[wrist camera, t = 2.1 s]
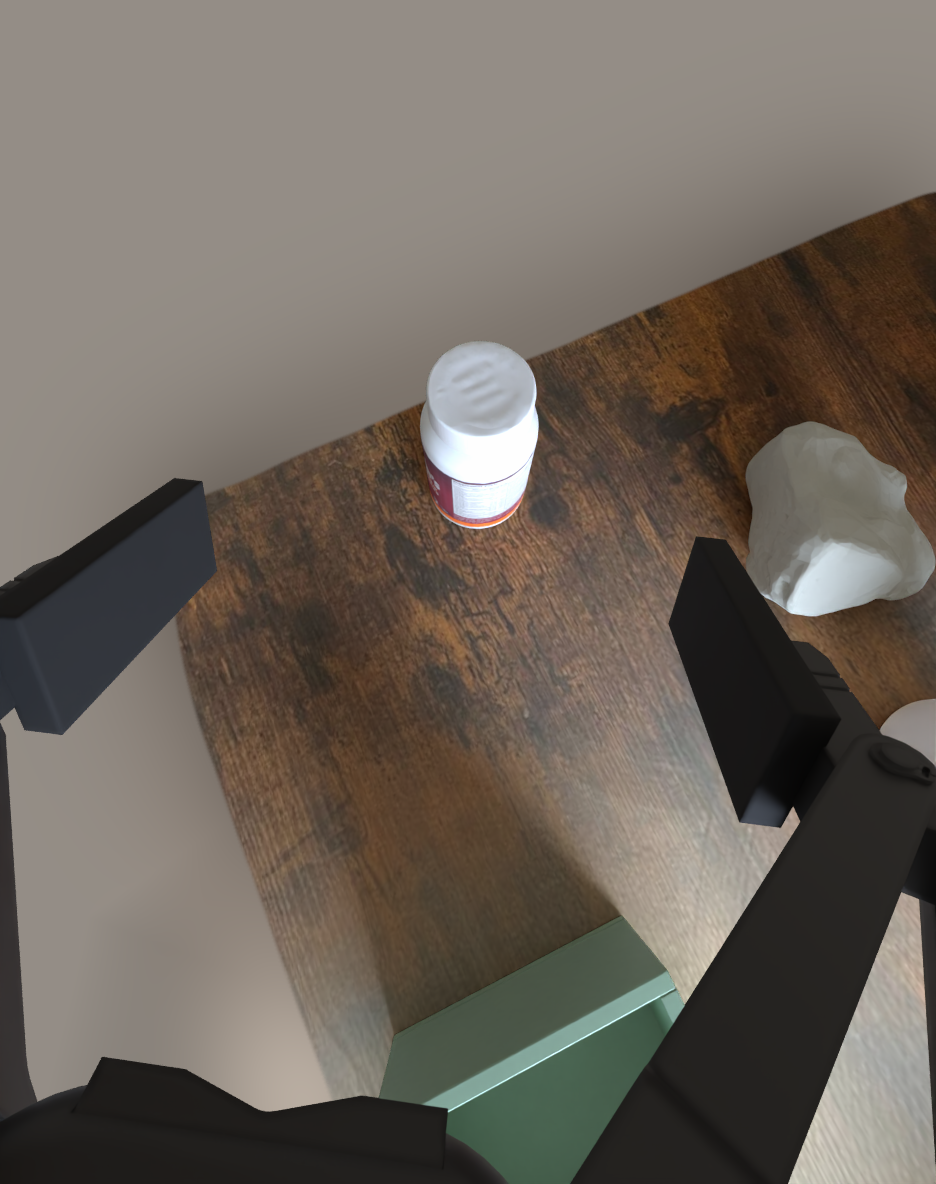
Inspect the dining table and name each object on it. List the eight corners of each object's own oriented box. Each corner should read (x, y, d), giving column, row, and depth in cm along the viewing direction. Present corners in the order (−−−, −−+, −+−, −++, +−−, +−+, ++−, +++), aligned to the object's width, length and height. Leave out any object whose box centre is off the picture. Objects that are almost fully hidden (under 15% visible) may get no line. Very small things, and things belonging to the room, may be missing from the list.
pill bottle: (424, 449, 39) (406, 336, 28) (517, 438, 39) (536, 321, 28) (435, 537, 37) (420, 455, 26) (531, 526, 37) (557, 440, 26)
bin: (393, 1034, 31) (369, 1130, 23) (622, 914, 32) (667, 969, 25) (506, 1332, 28) (520, 1548, 21) (752, 1187, 29) (848, 1341, 22)
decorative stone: (943, 607, 34) (952, 596, 26) (771, 625, 40) (736, 621, 32) (908, 431, 36) (907, 370, 28) (747, 471, 41) (708, 430, 33)
